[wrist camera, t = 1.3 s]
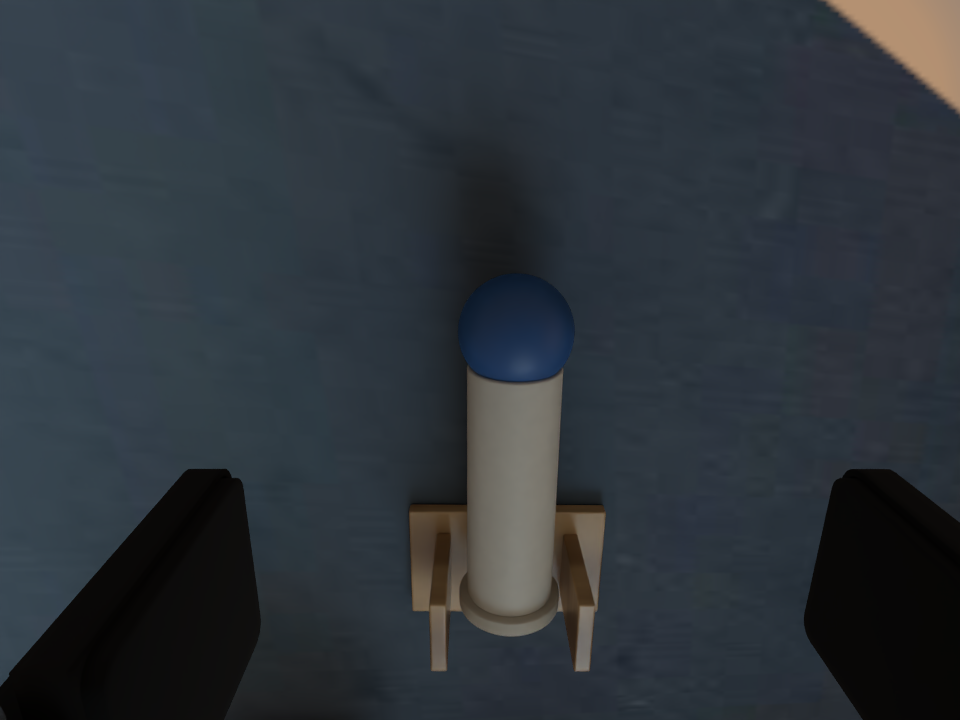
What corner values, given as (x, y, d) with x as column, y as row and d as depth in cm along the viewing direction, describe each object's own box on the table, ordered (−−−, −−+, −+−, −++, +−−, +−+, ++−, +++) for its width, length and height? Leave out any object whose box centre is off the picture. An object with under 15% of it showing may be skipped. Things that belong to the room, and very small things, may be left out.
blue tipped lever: (459, 262, 22) (455, 287, 18) (568, 263, 22) (587, 288, 18) (460, 568, 26) (458, 637, 22) (552, 568, 26) (564, 637, 22)
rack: (410, 503, 26) (395, 581, 21) (603, 504, 26) (629, 581, 21) (413, 602, 28) (401, 693, 23) (595, 602, 28) (618, 693, 23)
